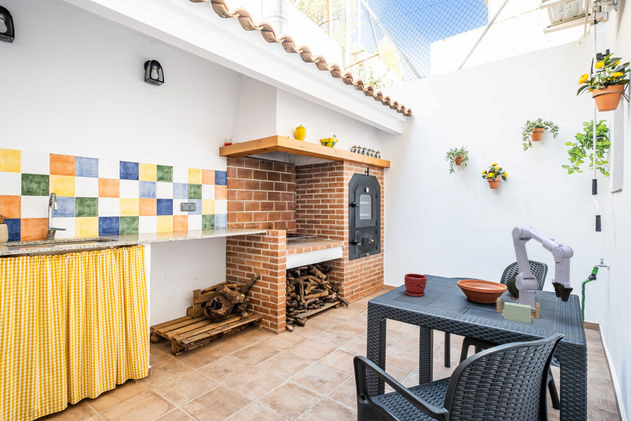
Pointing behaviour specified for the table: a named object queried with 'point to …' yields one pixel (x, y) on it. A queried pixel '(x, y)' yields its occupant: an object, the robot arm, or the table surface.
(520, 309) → the green sheet
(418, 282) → the plant pot
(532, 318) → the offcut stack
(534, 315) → the oak rack
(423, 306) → the table surface
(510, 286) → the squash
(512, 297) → the hand saw
